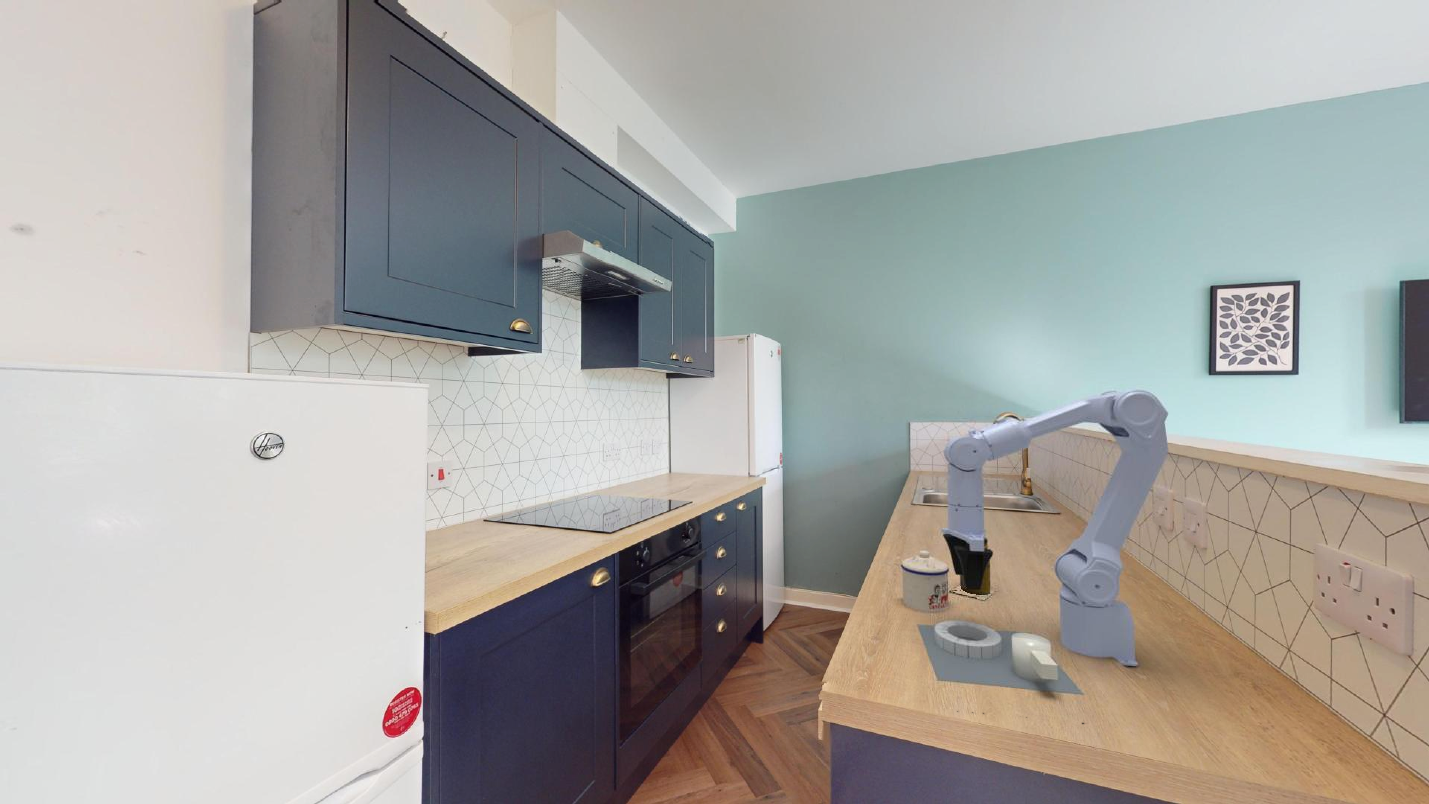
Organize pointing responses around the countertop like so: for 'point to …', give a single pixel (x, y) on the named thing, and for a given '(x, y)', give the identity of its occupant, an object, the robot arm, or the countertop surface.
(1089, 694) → the countertop surface
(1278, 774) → the countertop surface
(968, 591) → the condiment
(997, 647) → the stand
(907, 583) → the teacup with lid
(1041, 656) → the cream post on cylinder
